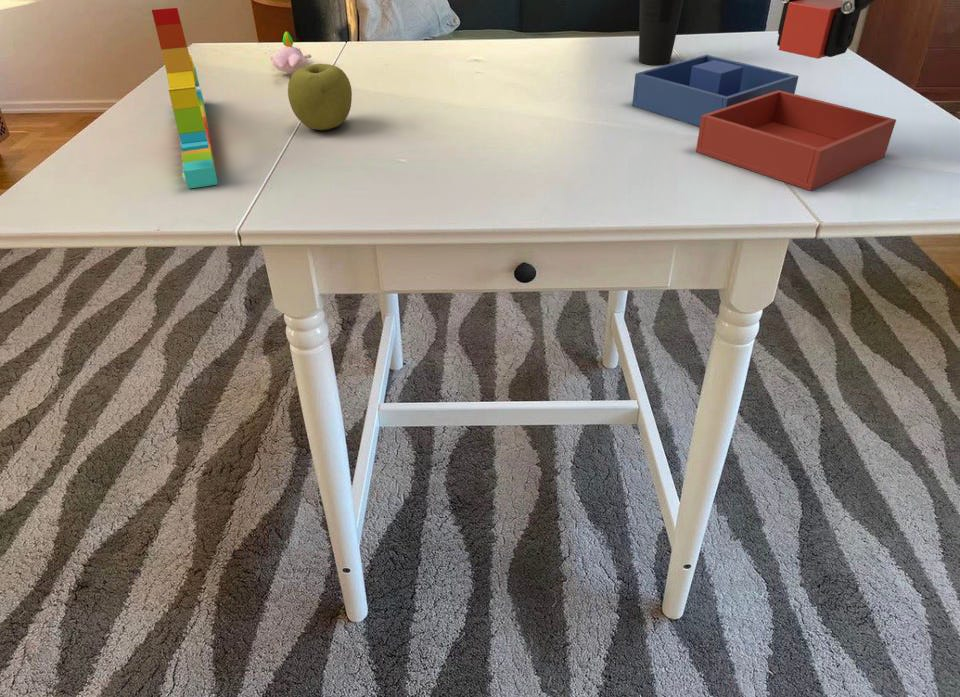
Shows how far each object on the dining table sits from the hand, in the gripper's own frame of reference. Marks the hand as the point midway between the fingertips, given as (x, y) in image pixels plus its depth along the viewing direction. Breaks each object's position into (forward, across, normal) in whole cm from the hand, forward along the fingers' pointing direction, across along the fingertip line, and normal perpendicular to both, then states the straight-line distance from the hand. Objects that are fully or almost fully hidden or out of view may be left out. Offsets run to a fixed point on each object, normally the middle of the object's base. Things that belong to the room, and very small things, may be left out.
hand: (811, 47), depth 73 cm
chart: (+12, +48, +49) cm, 69 cm away
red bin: (+11, 0, 0) cm, 11 cm away
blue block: (+11, +16, -7) cm, 20 cm away
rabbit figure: (+12, +68, +27) cm, 74 cm away
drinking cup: (+12, +36, -19) cm, 42 cm away
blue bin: (+11, +16, -7) cm, 21 cm away
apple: (+12, +42, +35) cm, 56 cm away
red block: (0, 0, 0) cm, 0 cm away
